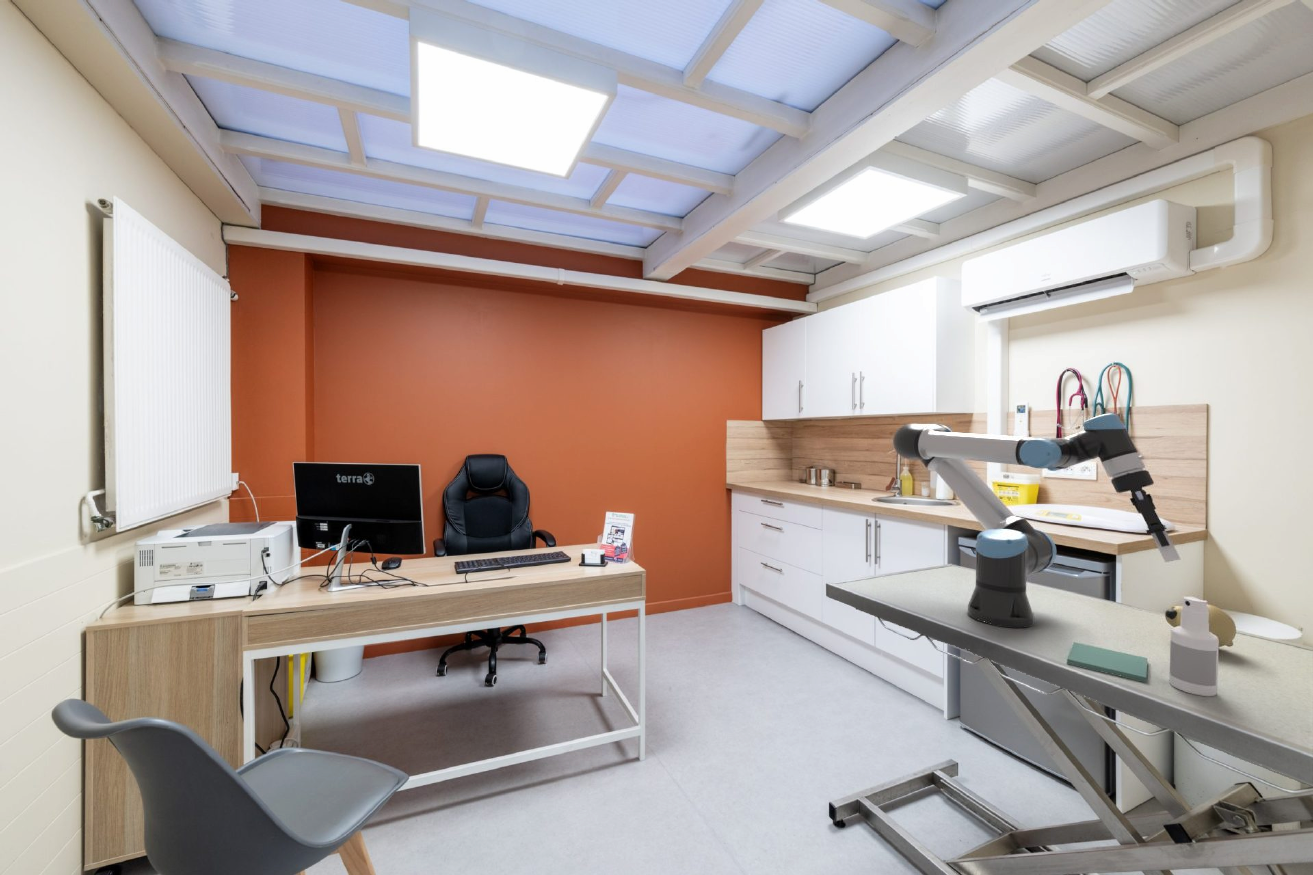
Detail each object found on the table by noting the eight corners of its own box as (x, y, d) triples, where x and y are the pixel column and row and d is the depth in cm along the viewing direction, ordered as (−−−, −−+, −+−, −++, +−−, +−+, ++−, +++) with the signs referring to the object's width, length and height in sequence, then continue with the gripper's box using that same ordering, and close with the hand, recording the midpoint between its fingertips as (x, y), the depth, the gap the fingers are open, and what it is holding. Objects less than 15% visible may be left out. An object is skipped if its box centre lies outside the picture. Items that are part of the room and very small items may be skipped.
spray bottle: (1159, 681, 113) (1162, 593, 112) (1190, 680, 113) (1192, 593, 113) (1195, 697, 106) (1197, 604, 105) (1227, 696, 106) (1230, 604, 106)
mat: (1066, 663, 121) (1067, 658, 121) (1073, 646, 130) (1073, 642, 130) (1146, 682, 112) (1146, 677, 112) (1147, 662, 122) (1147, 657, 122)
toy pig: (1184, 635, 138) (1185, 593, 138) (1246, 654, 127) (1247, 608, 126) (1155, 638, 136) (1156, 595, 135) (1215, 658, 124) (1217, 611, 124)
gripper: (1147, 465, 125) (1196, 557, 118) (1146, 472, 144) (1188, 552, 137) (1107, 475, 129) (1152, 565, 122) (1111, 481, 148) (1151, 559, 141)
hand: (1171, 559), depth 130 cm, fingers open, 13 cm apart
